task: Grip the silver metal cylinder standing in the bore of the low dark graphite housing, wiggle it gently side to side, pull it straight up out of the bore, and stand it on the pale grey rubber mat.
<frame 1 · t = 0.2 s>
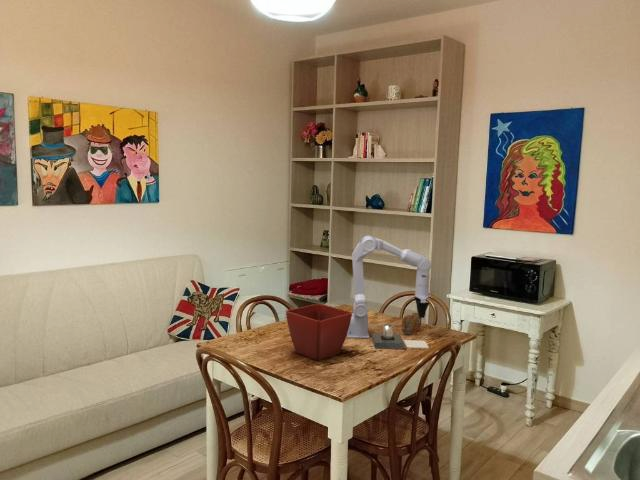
hand: (420, 315, 225), 10 cm above the table, tool pointing down, fingers open, 7 cm apart
mat: (416, 344, 216), on the table
tin: (411, 332, 234), on the table
silver metal cylinder: (387, 334, 216), in the housing
plant pot: (318, 353, 203), on the table
housing: (387, 344, 216), on the table
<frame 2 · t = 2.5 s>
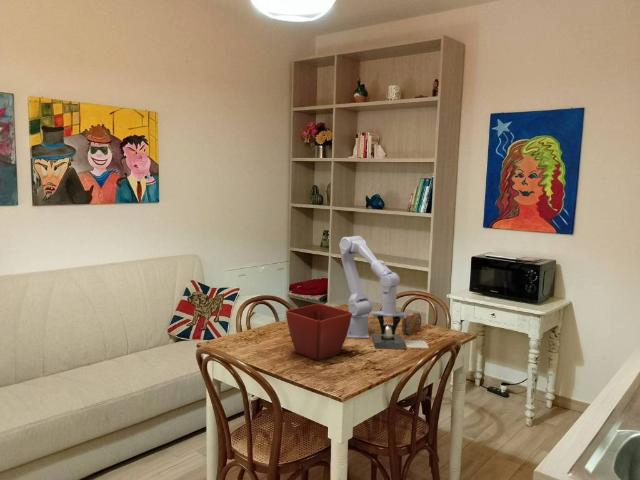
hand: (387, 333, 216), 4 cm above the table, tool pointing down, fingers closed on silver metal cylinder, 4 cm apart
silver metal cylinder: (387, 334, 216), in the housing, touching gripper
everything else where it was.
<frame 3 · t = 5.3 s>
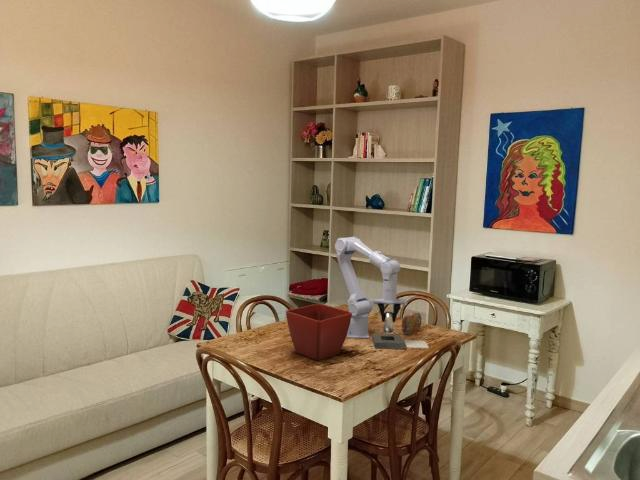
hand: (388, 321, 215), 10 cm above the table, tool pointing down, fingers closed on silver metal cylinder, 4 cm apart
silver metal cylinder: (388, 321, 215), point 10 cm above the table, touching gripper
everything else where it was.
when the fingers open (6 cm above the table, at t = 8.1 s): silver metal cylinder drops 1 cm, resting on mat.
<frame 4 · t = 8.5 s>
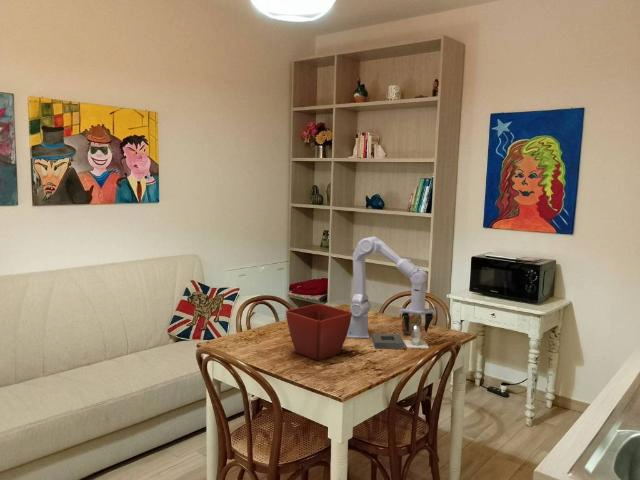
hand: (416, 331, 215), 6 cm above the table, tool pointing down, fingers open, 7 cm apart
silver metal cylinder: (416, 334, 215), on the mat
everything else where it was.
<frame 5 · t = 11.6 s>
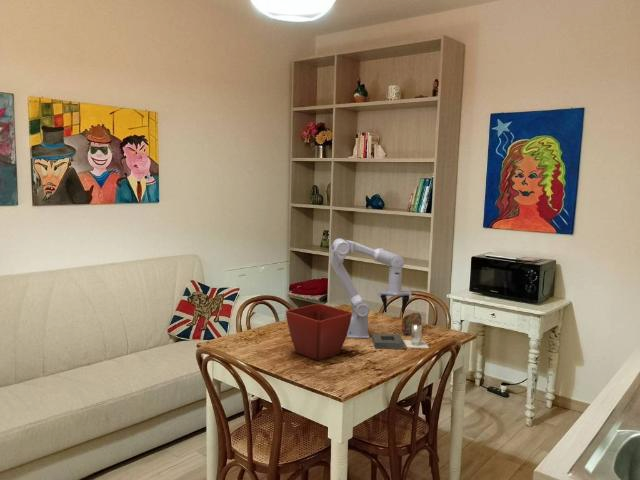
hand: (394, 312, 228), 10 cm above the table, tool pointing down, fingers open, 7 cm apart
nothing on the table moved.
at the end: silver metal cylinder 0.4 cm off-centre on the mat, point 4.6 cm above the mat's base; silver metal cylinder tilted 2°; the gripper is holding nothing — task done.
